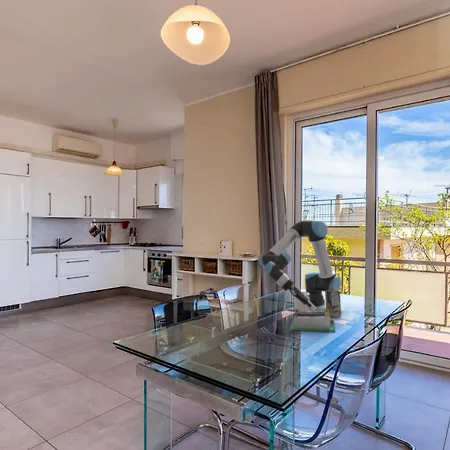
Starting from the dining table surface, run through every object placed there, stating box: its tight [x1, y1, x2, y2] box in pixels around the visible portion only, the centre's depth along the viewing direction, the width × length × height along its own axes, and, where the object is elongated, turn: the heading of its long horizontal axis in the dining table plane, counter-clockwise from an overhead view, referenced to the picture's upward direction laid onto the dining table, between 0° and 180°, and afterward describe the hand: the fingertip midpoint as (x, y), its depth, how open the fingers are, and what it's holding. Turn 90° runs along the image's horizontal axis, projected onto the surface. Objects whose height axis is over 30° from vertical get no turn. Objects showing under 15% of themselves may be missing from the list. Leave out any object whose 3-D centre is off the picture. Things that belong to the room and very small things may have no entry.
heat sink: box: [289, 308, 336, 333], centre depth 208 cm, size 25×20×9 cm
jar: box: [292, 291, 311, 313], centre depth 230 cm, size 11×10×15 cm
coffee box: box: [324, 289, 342, 318], centre depth 228 cm, size 9×6×16 cm
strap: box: [296, 311, 325, 316], centre depth 208 cm, size 18×5×1 cm, turn 74°
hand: (315, 309), depth 207 cm, fingers closed
